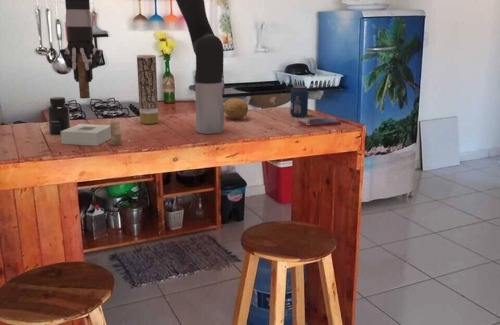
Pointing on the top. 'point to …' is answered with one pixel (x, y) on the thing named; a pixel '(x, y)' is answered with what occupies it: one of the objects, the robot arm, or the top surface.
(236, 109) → the potato
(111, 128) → the short pin
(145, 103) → the paper tube
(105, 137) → the hole block
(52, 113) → the supplement bottle
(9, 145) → the top surface
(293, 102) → the soda can
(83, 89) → the long pin
